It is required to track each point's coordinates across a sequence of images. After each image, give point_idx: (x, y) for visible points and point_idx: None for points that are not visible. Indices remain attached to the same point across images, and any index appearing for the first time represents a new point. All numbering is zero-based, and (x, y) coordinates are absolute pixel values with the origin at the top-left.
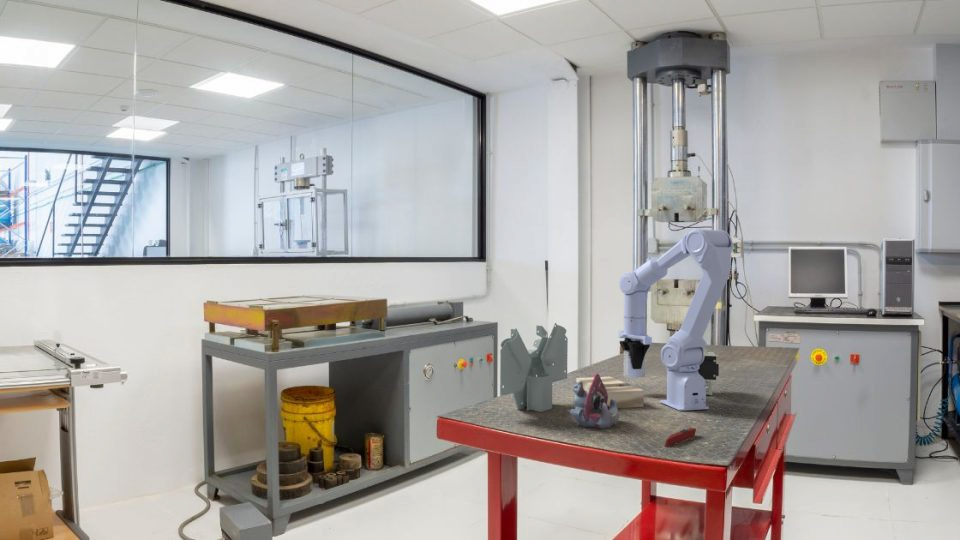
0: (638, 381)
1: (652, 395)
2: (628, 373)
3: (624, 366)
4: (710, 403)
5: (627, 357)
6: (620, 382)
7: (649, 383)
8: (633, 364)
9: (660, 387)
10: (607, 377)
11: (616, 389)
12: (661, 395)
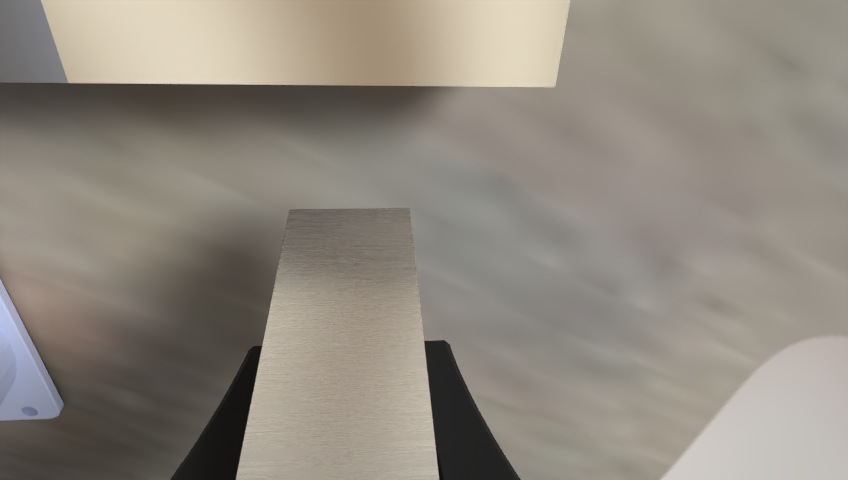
0: (716, 387)
1: (262, 292)
2: (285, 250)
3: (388, 294)
4: (10, 474)
5: (272, 431)
6: (113, 22)
7: (627, 416)
8: (230, 390)
9: (495, 424)
10: (504, 12)
11: None
12: (255, 343)
